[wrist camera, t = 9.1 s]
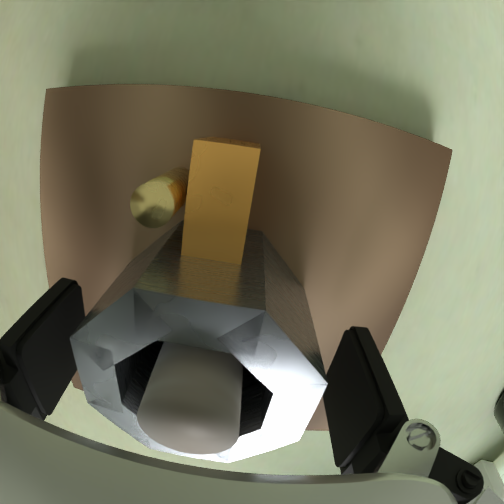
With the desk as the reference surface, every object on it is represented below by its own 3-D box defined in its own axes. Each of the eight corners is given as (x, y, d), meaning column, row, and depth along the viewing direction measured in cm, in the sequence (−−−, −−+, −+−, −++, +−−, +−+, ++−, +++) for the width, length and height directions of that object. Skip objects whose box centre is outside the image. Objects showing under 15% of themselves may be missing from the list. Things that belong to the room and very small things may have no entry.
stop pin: (161, 198, 10) (129, 225, 8) (164, 165, 10) (131, 180, 7) (194, 203, 11) (171, 230, 8) (198, 169, 10) (175, 185, 7)
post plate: (83, 371, 16) (34, 462, 9) (66, 90, 10) (-71, 90, 3) (333, 412, 17) (353, 515, 10) (433, 146, 11) (571, 184, 4)
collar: (278, 375, 14) (283, 466, 9) (135, 351, 13) (98, 433, 9) (335, 158, 10) (398, 186, 5) (139, 129, 9) (53, 138, 5)
